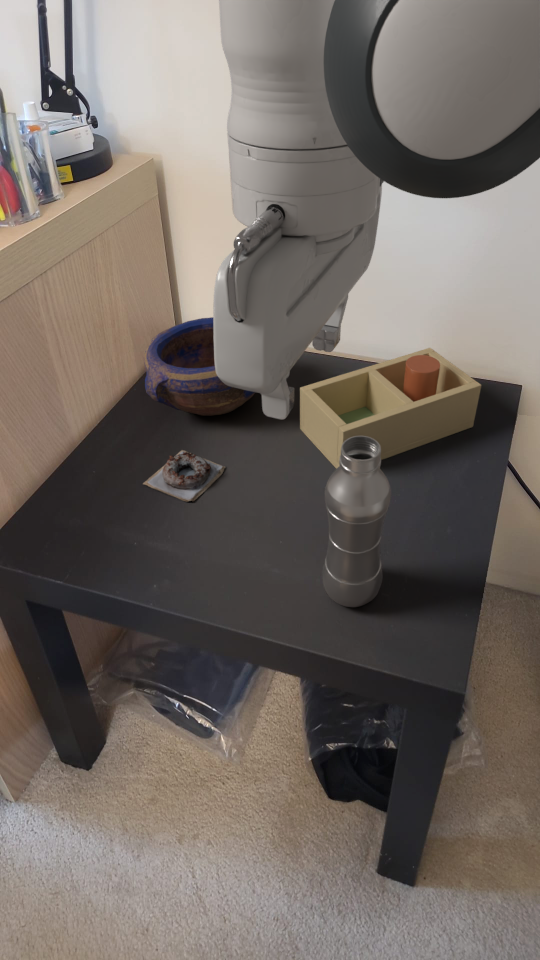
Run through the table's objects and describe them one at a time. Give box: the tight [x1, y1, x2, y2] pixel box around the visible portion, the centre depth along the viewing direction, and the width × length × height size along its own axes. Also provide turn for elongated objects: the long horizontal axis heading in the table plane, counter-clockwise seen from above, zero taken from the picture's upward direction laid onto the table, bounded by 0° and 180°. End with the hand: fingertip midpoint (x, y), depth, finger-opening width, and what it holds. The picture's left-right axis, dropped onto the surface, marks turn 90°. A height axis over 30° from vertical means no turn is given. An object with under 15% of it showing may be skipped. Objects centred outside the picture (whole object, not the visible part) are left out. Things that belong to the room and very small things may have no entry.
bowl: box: [143, 316, 257, 417], centre depth 100 cm, size 18×18×10 cm
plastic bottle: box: [321, 436, 392, 608], centre depth 68 cm, size 6×7×20 cm
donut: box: [142, 449, 226, 502], centre depth 89 cm, size 8×8×2 cm
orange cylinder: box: [403, 355, 440, 402], centre depth 95 cm, size 5×5×8 cm
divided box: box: [299, 347, 482, 470], centre depth 95 cm, size 11×22×7 cm, turn 117°
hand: (304, 377), depth 50 cm, fingers open, 8 cm apart
